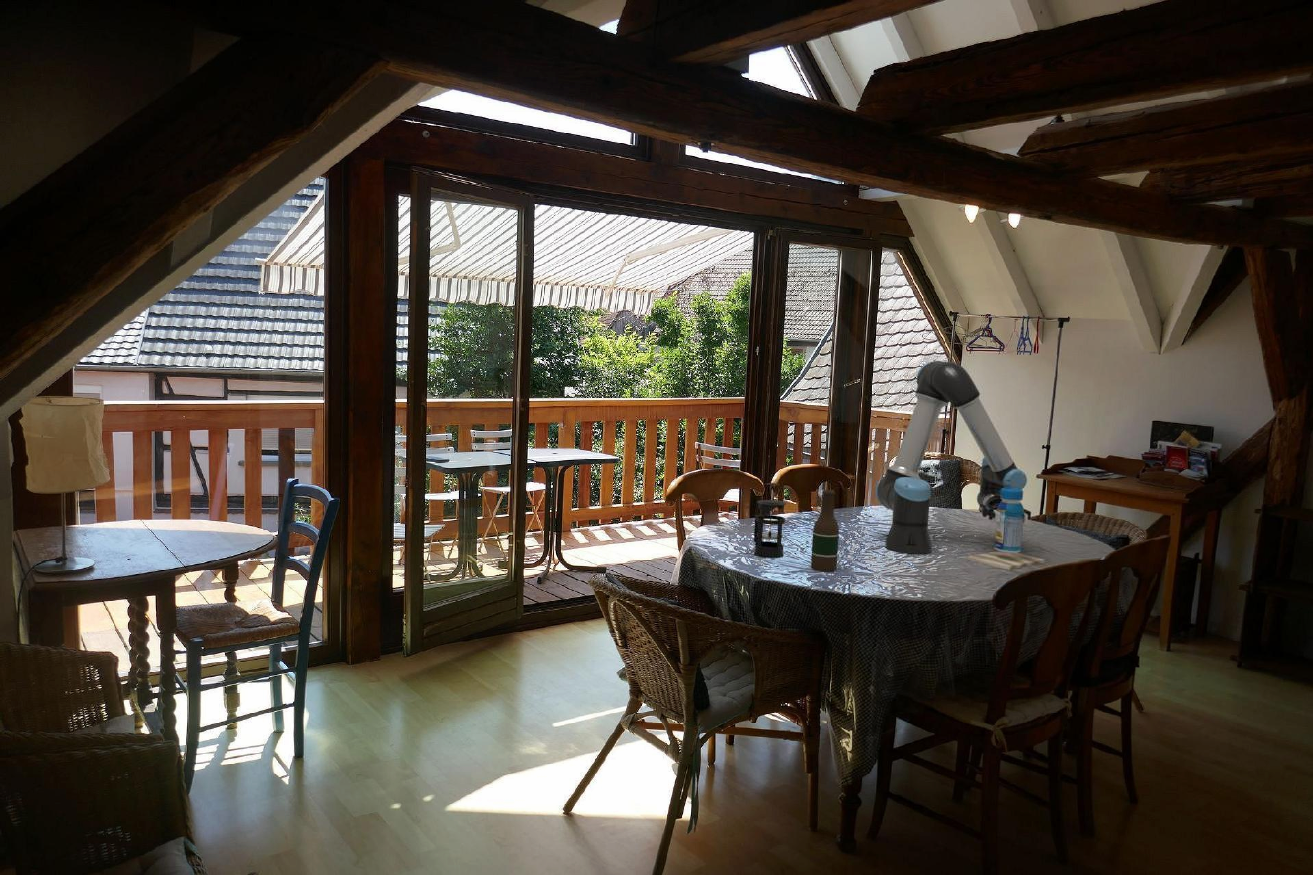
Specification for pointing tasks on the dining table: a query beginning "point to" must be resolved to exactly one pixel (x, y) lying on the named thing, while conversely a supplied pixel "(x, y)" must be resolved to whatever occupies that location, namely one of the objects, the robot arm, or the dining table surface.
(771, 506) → the black lantern
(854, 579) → the dining table surface
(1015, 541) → the beverage bottle
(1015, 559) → the birch board
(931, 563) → the dining table surface
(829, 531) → the beer bottle
